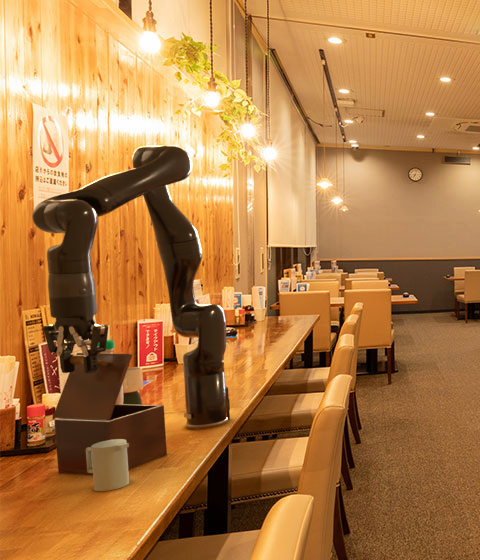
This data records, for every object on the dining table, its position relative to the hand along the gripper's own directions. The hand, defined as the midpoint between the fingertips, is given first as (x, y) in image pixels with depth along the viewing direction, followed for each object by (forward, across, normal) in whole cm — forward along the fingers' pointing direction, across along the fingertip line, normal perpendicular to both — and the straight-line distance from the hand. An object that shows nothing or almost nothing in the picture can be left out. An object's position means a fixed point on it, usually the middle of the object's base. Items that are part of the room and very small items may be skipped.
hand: (79, 372), depth 138 cm
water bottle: (+23, +21, -24) cm, 39 cm away
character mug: (+24, +36, -44) cm, 62 cm away
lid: (+4, 0, -3) cm, 5 cm away
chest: (+23, 0, -6) cm, 23 cm away
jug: (+22, -13, +6) cm, 26 cm away
